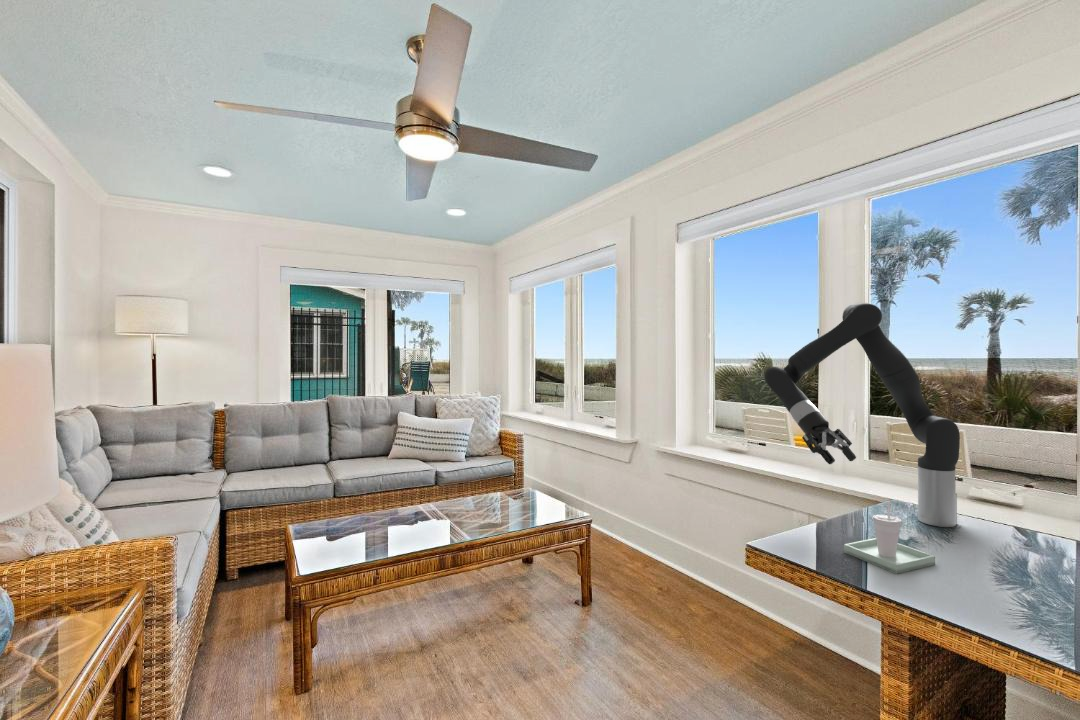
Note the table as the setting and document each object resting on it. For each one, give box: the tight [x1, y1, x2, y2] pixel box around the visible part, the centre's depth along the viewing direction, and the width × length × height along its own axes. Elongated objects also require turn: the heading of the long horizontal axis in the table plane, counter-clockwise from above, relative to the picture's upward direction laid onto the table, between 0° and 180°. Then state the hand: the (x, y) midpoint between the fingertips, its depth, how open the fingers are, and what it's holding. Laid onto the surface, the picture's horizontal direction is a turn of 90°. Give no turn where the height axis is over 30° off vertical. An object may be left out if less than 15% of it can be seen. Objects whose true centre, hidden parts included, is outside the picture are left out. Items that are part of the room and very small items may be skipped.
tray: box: [843, 537, 936, 575], centre depth 129 cm, size 14×14×2 cm
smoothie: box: [871, 501, 903, 558], centre depth 129 cm, size 6×6×14 cm
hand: (843, 461), depth 144 cm, fingers open, 8 cm apart
